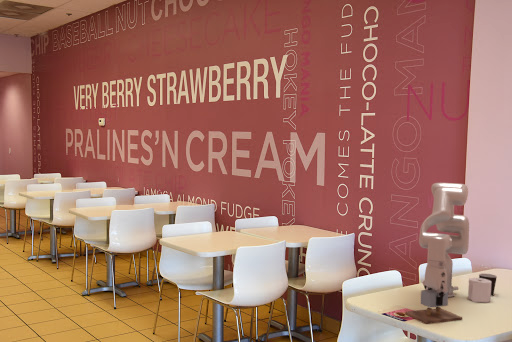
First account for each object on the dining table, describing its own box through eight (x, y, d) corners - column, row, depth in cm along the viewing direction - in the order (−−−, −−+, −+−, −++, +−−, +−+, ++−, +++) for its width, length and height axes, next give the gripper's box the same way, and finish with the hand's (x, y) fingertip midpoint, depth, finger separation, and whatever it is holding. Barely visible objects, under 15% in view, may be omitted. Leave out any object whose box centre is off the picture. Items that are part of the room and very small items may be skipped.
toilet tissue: (487, 297, 272) (488, 278, 272) (493, 304, 260) (494, 284, 260) (466, 295, 274) (467, 276, 274) (470, 302, 263) (471, 282, 262)
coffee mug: (496, 297, 274) (497, 278, 274) (478, 295, 277) (479, 276, 276) (494, 291, 285) (495, 273, 285) (477, 289, 288) (478, 271, 287)
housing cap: (438, 301, 241) (438, 289, 240) (447, 305, 235) (448, 292, 235) (420, 303, 237) (421, 290, 237) (429, 307, 231) (430, 293, 231)
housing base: (440, 310, 247) (440, 301, 246) (462, 319, 234) (462, 310, 233) (405, 314, 239) (405, 305, 239) (425, 324, 226) (426, 314, 226)
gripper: (456, 267, 229) (454, 308, 229) (429, 259, 245) (427, 297, 245) (442, 268, 226) (440, 309, 227) (416, 259, 242) (414, 298, 243)
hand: (434, 302), depth 236 cm, fingers closed on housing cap, 6 cm apart
